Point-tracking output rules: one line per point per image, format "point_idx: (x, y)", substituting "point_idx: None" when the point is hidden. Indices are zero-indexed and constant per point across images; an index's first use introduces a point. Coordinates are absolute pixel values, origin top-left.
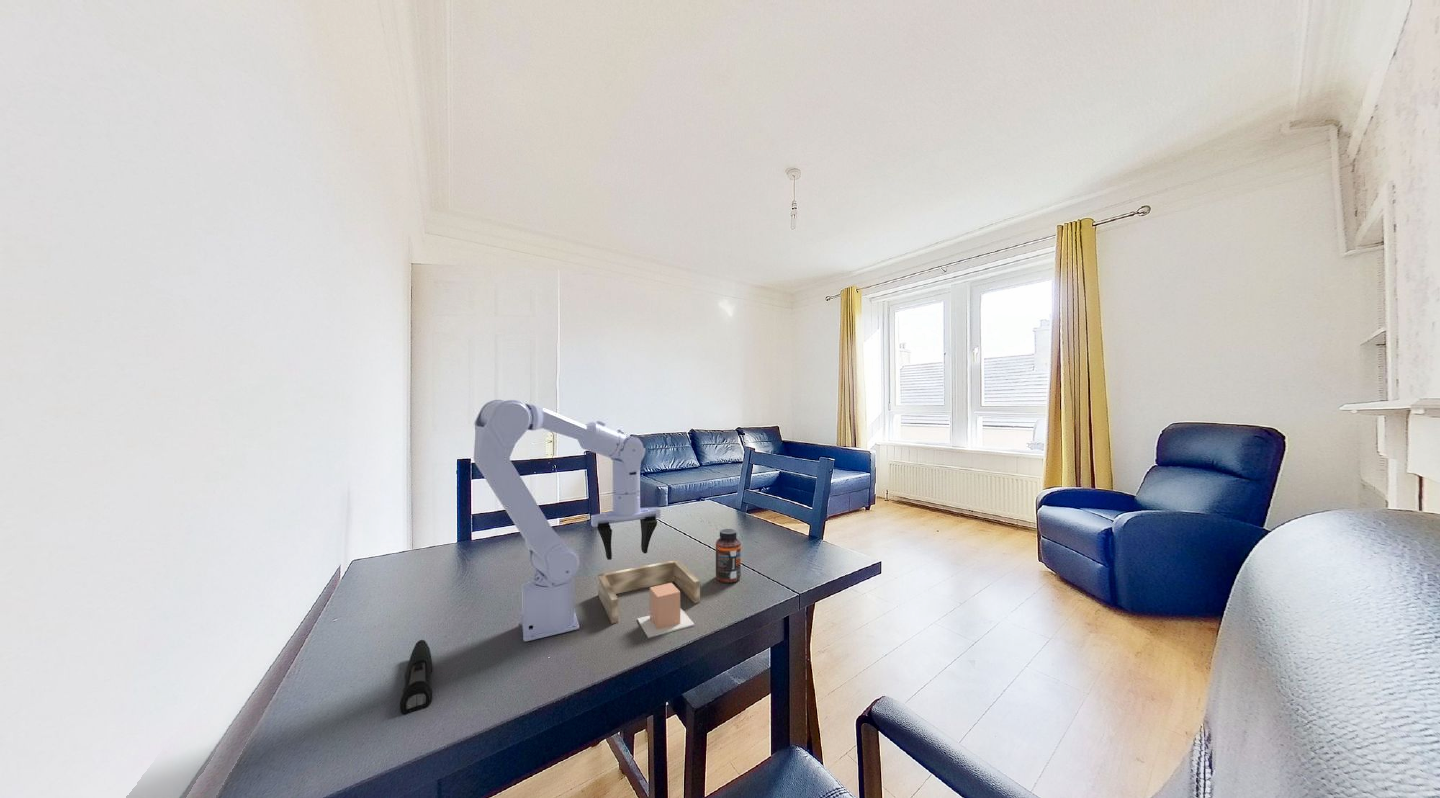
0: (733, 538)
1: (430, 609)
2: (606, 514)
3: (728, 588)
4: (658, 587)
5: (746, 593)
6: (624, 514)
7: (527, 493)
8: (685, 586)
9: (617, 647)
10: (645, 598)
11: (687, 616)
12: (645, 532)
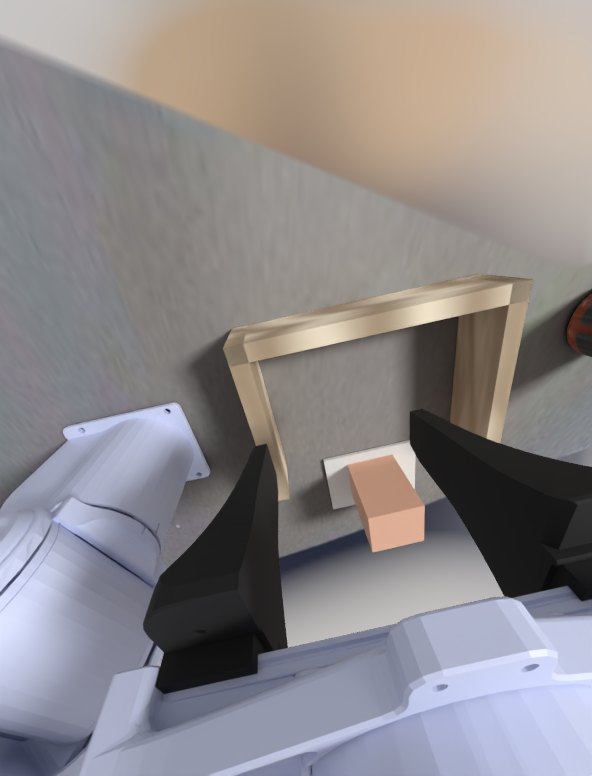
0: None
1: None
2: (236, 742)
3: (555, 373)
4: (387, 521)
5: (568, 404)
6: None
7: None
8: (465, 385)
9: (283, 519)
10: (356, 377)
11: (414, 470)
12: (476, 532)
